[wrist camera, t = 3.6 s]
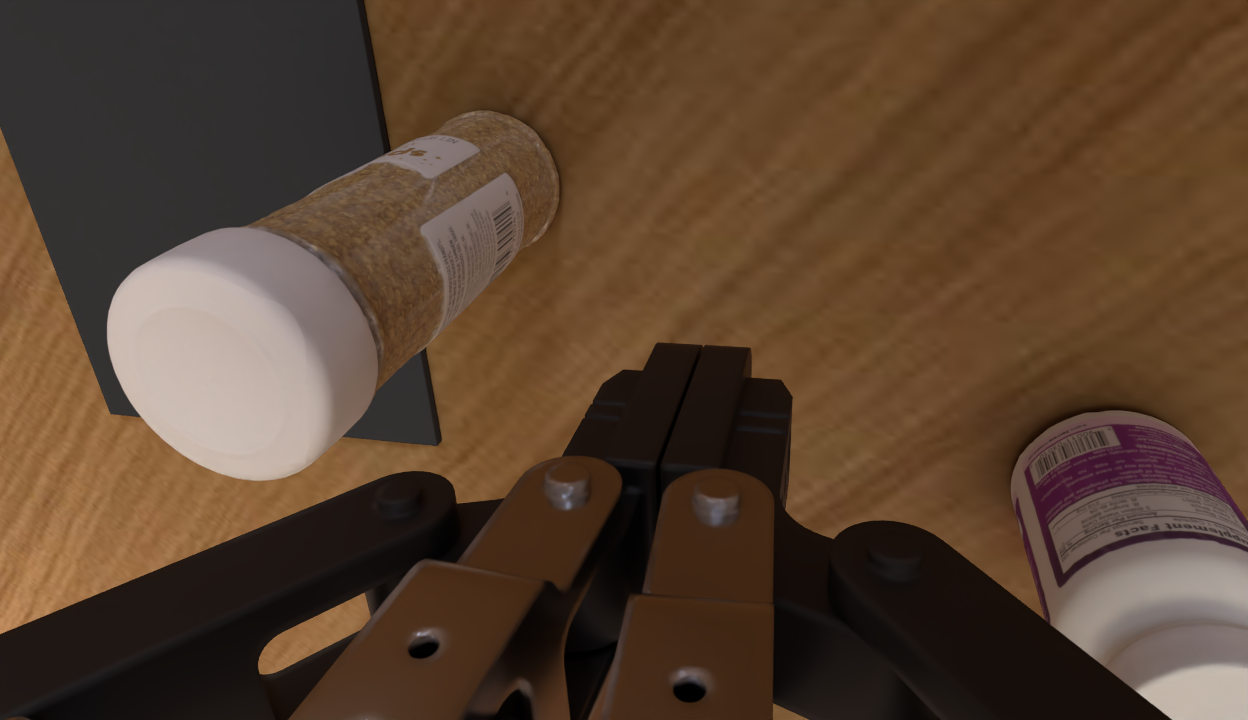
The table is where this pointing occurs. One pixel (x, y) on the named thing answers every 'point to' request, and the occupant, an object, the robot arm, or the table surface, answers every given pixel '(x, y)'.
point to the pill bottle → (1140, 558)
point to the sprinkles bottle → (325, 296)
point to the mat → (187, 142)
